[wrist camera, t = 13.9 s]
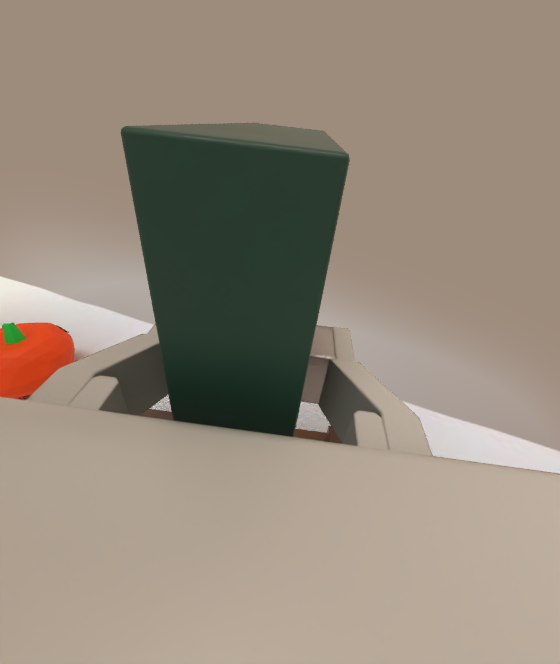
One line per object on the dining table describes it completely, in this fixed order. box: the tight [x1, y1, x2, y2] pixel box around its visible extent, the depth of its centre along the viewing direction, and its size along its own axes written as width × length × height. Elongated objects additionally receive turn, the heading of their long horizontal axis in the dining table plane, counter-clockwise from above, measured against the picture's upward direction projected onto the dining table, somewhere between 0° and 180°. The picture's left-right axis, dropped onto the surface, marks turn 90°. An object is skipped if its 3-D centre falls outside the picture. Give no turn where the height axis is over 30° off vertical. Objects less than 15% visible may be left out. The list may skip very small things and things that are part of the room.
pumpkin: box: [0, 323, 75, 398], centre depth 25 cm, size 7×8×6 cm
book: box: [121, 123, 349, 437], centre depth 11 cm, size 3×9×14 cm, turn 174°
